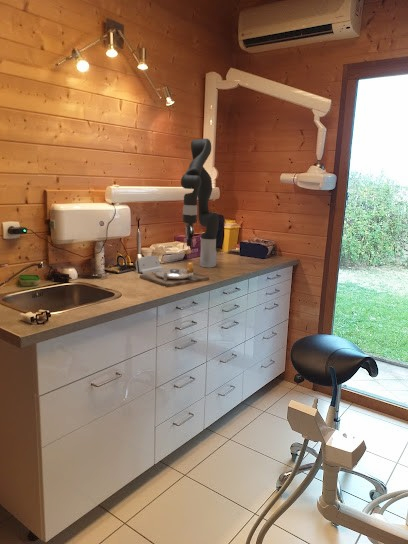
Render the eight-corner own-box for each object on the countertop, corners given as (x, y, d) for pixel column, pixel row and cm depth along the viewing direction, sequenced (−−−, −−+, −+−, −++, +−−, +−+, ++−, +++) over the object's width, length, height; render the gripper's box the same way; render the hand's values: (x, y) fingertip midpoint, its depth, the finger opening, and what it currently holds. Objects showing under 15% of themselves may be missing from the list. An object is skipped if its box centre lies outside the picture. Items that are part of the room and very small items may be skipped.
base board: (180, 271, 243) (180, 261, 241) (209, 279, 225) (209, 268, 224) (139, 277, 224) (139, 266, 223) (167, 287, 207) (167, 275, 206)
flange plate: (177, 269, 238) (177, 257, 237) (204, 276, 222) (204, 264, 221) (148, 273, 225) (148, 261, 223) (174, 282, 209) (174, 269, 207)
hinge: (142, 274, 232) (138, 256, 232) (137, 276, 235) (133, 258, 235) (163, 270, 245) (159, 253, 245) (158, 271, 248) (154, 255, 248)
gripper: (181, 212, 230) (180, 244, 233) (185, 214, 217) (184, 247, 221) (194, 212, 231) (193, 244, 235) (199, 215, 219) (198, 248, 222)
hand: (188, 246), depth 228 cm, fingers closed
